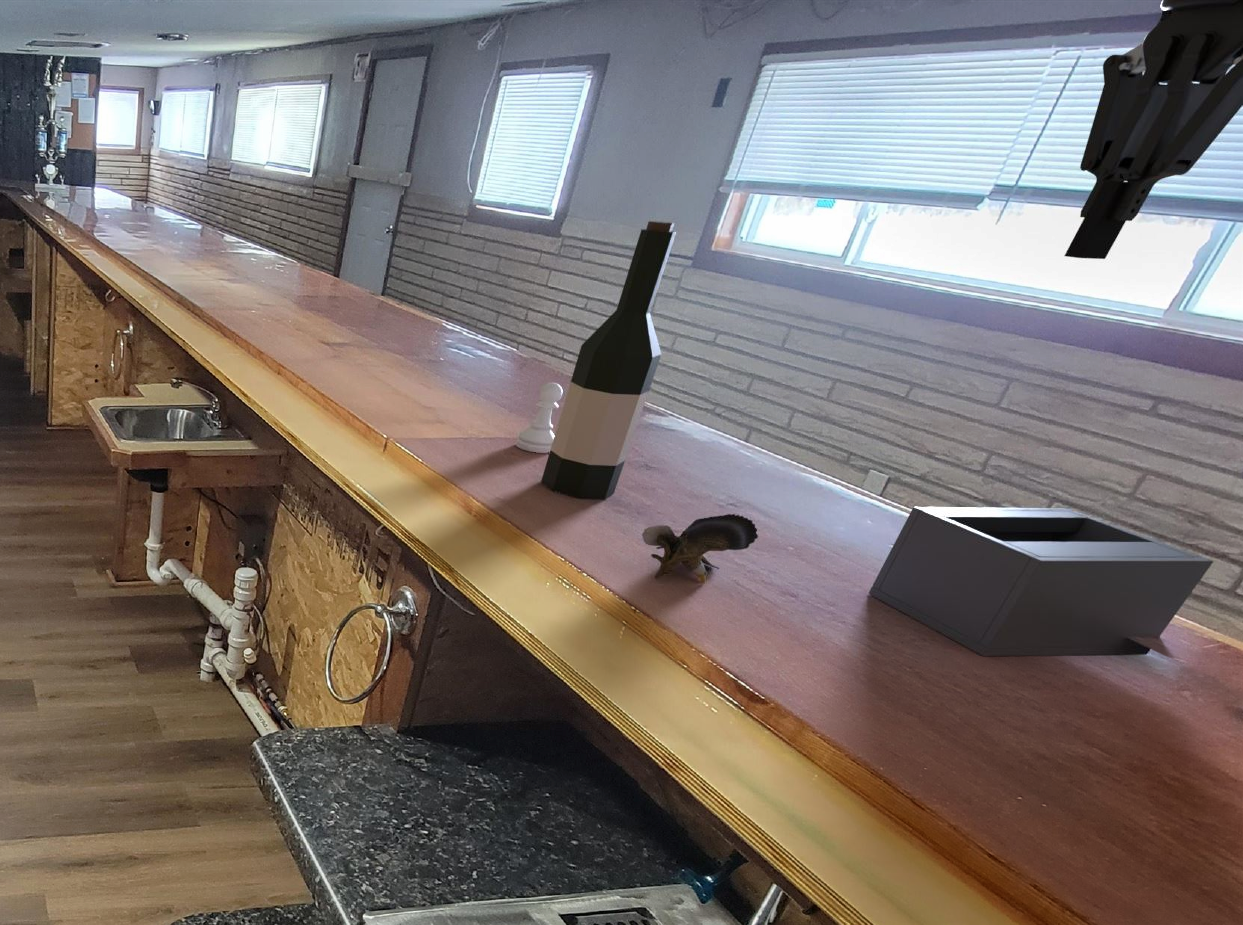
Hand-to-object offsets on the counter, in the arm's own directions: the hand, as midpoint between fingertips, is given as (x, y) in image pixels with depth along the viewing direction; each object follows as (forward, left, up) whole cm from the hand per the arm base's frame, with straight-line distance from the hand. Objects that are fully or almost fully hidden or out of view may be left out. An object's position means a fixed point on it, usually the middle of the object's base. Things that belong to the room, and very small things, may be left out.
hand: (1084, 257), depth 87 cm
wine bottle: (+33, -16, -30) cm, 47 cm away
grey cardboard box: (+12, +14, -25) cm, 31 cm away
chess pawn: (+30, -32, -30) cm, 53 cm away
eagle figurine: (+36, +9, -30) cm, 47 cm away
